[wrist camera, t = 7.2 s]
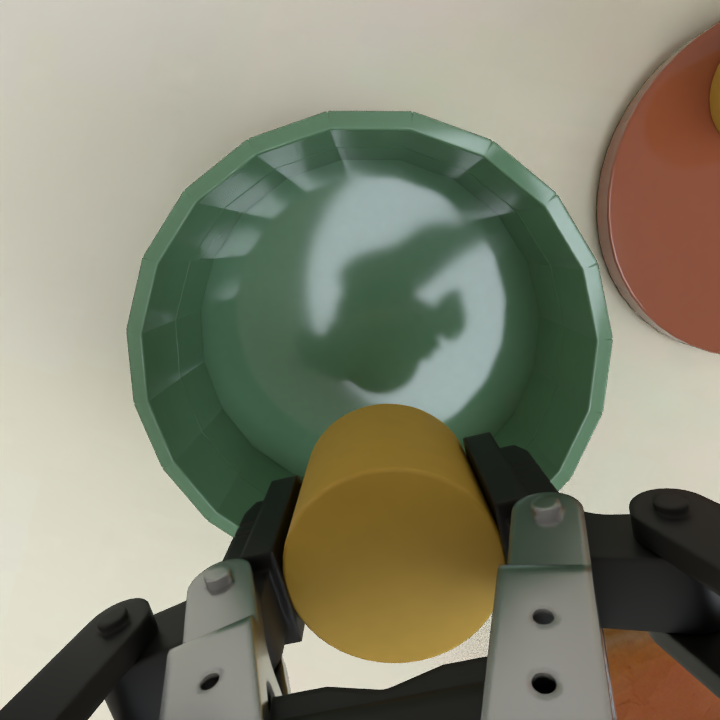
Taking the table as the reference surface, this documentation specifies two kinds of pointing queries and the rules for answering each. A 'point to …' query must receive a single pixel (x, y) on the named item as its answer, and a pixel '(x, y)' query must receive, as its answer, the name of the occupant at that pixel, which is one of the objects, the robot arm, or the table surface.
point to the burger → (654, 681)
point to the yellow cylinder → (715, 98)
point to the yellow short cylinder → (391, 538)
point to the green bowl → (362, 304)
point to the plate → (668, 198)
